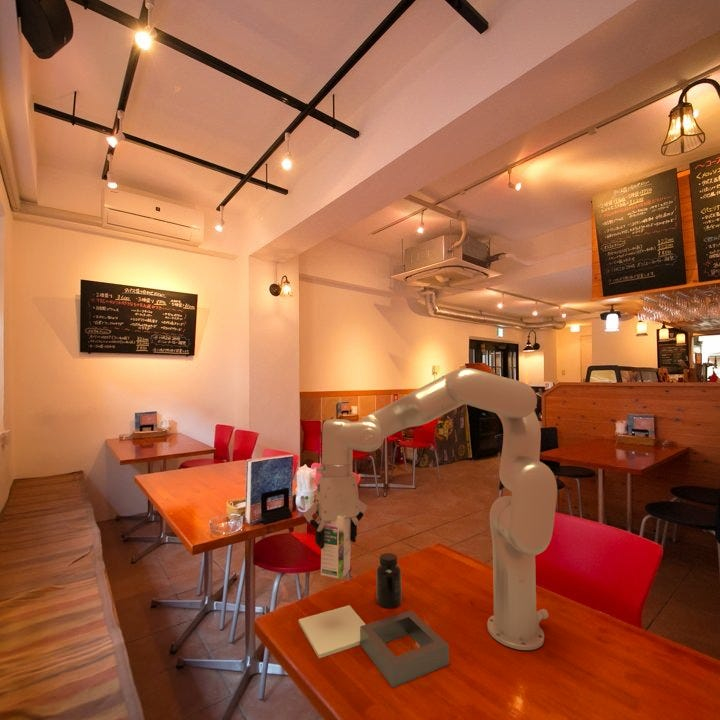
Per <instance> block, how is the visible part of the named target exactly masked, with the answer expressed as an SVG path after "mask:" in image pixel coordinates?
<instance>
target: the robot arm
mask: <svg viewBox="0 0 720 720" xmlns="http://www.w3.org/2000/svg"><path fill="white" fill-rule="evenodd" d="M537 404H538V398H537V394H536V391H535V390H534V389H533V388H532V387H531V386H530V385H529V384H527V383H525V382H524V381H520V380H517V379H514V378H513V379H512V378H509V377H504V376H501V375H498V374H494V373H490V372H487V371H483V370H479V369H476V368H471V367H468V368H467V367H465V368H459V369H454V370H453V371H450V372H449V373H446V374H445V375H442V376H441V377H438V378H437V379H435V380H433V381H431V382H429V383H428V384H425V385H424V386H421V387H420V388H418V389H416V390H413V391H412V392H410V393H407V394H406V395H404V396H402V397H400V398H399V399H396V401H393V402H391V403H390V404H387V405H385V406H383V407H381V408H379V409H378V410H376V411H374V412H371V413H369V414H367V415H366V416H364V417H362V418H360V419H359V420H358V421H351V420H349V419H343V418H341V419H340V418H338V419H337V418H332V419H326V420H324V422H323V424H322V439H321V440H322V445H321V447H322V449H321V451H322V452H321V453H322V455H321V464H320V465H319V466H317V467H316V473H320V474H321V475H319V477H318V482H317V487H316V492H315V493H316V494H315V502H314V503H313V504H312V505H311V506H310V507H309V508H308V509H306V511H304V513H303V516H304V517H305V520H306V521H307V522H308V524H310V525H311V526H312V527H313V528H314V542H315V544H316V546H317V547H319V548H320V550H321V549H322V548H324V531H323V530H322V529H323V527H324V525H325V523H326V522H329V521H335V520H337V516H339V515H343V514H345V518H346V519H348V518H351V543H355V542H356V540H357V539H356V538H357V537H358V536H357V535H358V534H357V533H358V529H357V528H358V525H359V523H360V521H361V520H362V518H363V517H364V514H365V512H366V511H367V509H368V505H367V504H366V503H365V502H363V501H362V500H360V499H359V488H358V482H357V476H356V474H353V460H354V459H353V452H354V451H360V452H366V453H367V452H368V453H369V452H374V451H376V450H378V449H379V448H380V447H381V446H382V445H383V443H384V440H385V439H386V438H388V437H390V436H393V434H395V433H398V432H399V431H402V430H405V429H408V428H412V427H419V426H423V425H425V424H429V423H430V422H433V421H435V420H436V419H438V418H439V417H443V416H444V415H445V414H447V413H449V412H451V411H455V409H457V408H459V407H461V406H463V405H468V406H470V407H474V408H477V409H480V410H484V411H487V412H489V413H490V412H491V413H495V414H496V415H497V416H498V418H499V419H500V421H501V422H500V423H501V424H502V429H503V438H502V439H503V440H502V446H501V447H502V450H501V457H500V464H499V471H498V472H499V473H498V475H499V480H500V482H501V484H502V485H503V487H505V489H507V490H508V491H509V492H510V493H511V495H504V496H501V497H499V498H497V499H495V501H494V502H493V503H492V504H491V507H490V511H489V527H490V534H491V540H492V541H491V542H492V574H493V575H492V577H493V578H492V579H493V582H492V583H493V615H491V616H490V617H489V618H488V620H487V621H486V622H487V623H486V624H487V626H486V627H487V631H488V633H489V634H490V636H491V637H492V638H493V639H494V640H495V641H497V642H499V644H501V645H504V646H506V647H508V648H510V649H515V650H520V651H533V650H537V649H539V648H540V647H542V646H543V644H544V642H545V633H544V631H543V629H542V628H541V627H540V623H541V621H542V620H545V619H547V618H549V616H550V615H549V612H548V610H547V609H545V608H541V609H539V610H537V589H536V587H537V583H536V580H537V578H536V576H537V575H536V556H537V555H539V554H540V555H541V553H543V552H544V551H546V550H547V548H548V546H549V545H550V542H551V541H552V537H553V531H554V525H555V518H556V515H555V514H556V508H557V499H558V485H557V479H556V477H555V474H554V472H553V471H552V470H551V468H550V467H549V466H548V465H546V464H545V463H543V462H542V461H540V455H541V440H542V439H541V437H542V436H541V435H542V432H541V431H542V430H541V424H540V422H539V419H538V416H537V414H536V412H535V409H536V408H537ZM314 514H315V516H316V517H317V518H316V519H314V518H313V515H314Z"/></svg>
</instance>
